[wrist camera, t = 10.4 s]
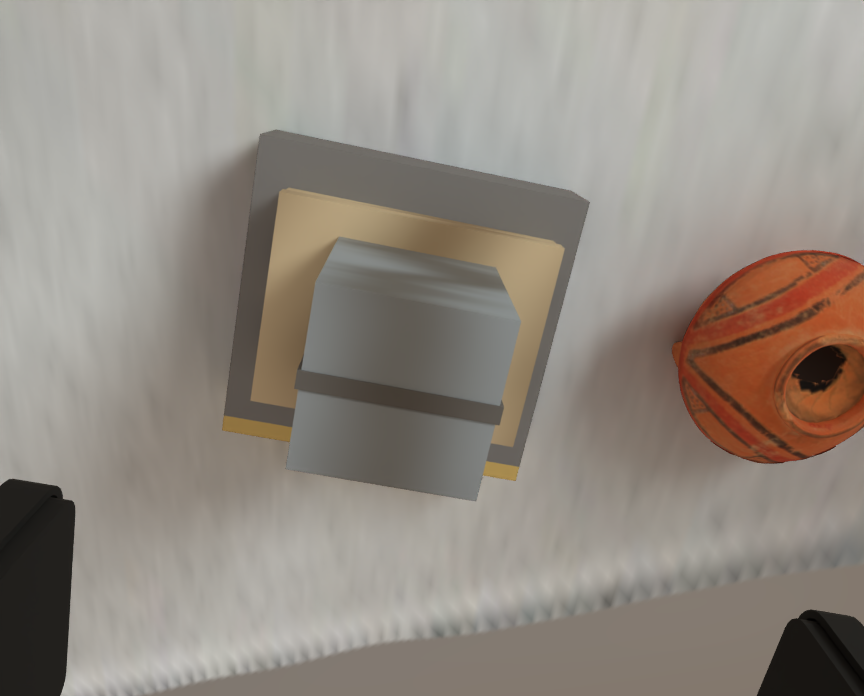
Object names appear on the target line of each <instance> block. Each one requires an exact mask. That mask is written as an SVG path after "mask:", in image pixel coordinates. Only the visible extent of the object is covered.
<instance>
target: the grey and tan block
mask: <svg viewBox="0 0 864 696" xmlns="http://www.w3.org/2000/svg"><path fill="white" fill-rule="evenodd" d="M564 250H565V248H564V247H563V246H562V245H560V244H556V243H555V242H554V241H552V240H547V239H542V238H537V237H532V236H527V235H522V234H518V233H513V232H508V231H503V230H498V229H493V228H488V227H483V226H478V225H473V224H468V223H463V222H458V221H453V220H448V219H443V218H438V217H433V216H428V215H423V214H418V213H413V212H408V211H403V210H398V209H393V208H388V207H383V206H378V205H373V204H368V203H363V202H358V201H353V200H348V199H344V198H339V197H334V196H329V195H324V194H319V193H314V192H309V191H304V190H299V189H294V188H287V189H282V190H281V191H280V192H279V198H278V205H277V213H276V220H275V227H274V234H273V241H272V249H271V256H270V263H269V270H268V277H267V285H266V292H265V299H264V306H263V313H262V321H261V328H260V335H259V342H258V349H257V357H256V364H255V371H254V378H253V385H252V393H251V400H250V401H255V402H260V403H266V404H272V405H277V406H283V407H289V408H294V409H295V413H294V420H293V426H292V432H291V438H290V445H289V451H288V457H287V464H286V469H288V470H294V471H300V472H306V473H312V474H317V475H323V476H329V477H335V478H341V479H347V480H353V481H359V482H365V483H371V484H376V485H382V486H388V487H394V488H400V489H406V490H412V491H418V492H424V493H430V494H435V495H441V496H447V497H453V498H459V499H465V500H471V501H476V500H477V496H478V492H479V488H480V484H481V480H482V476H483V472H484V468H485V464H486V460H487V456H488V452H489V448H490V444H491V443H493V444H498V445H504V446H509V447H513V445H514V442H515V438H516V434H517V430H518V426H519V423H520V419H521V415H522V411H523V407H524V403H525V400H526V396H527V392H528V388H529V384H530V380H531V377H532V373H533V369H534V365H535V361H536V357H537V354H538V350H539V346H540V342H541V338H542V334H543V331H544V327H545V323H546V319H547V315H548V312H549V308H550V304H551V300H552V296H553V292H554V289H555V285H556V281H557V277H558V273H559V269H560V266H561V262H562V258H563V254H564Z"/></svg>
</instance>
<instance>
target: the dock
mask: <svg viewBox="0 0 864 696" xmlns="http://www.w3.org/2000/svg"><path fill="white" fill-rule="evenodd" d="M287 188H294V189H299V190H304V191H309V192H314V193H319V194H324V195H329V196H334V197H339V198H344V199H348V200H353V201H358V202H363V203H368V204H373V205H378V206H383V207H388V208H393V209H398V210H403V211H408V212H413V213H418V214H423V215H428V216H433V217H438V218H443V219H448V220H453V221H458V222H463V223H468V224H473V225H478V226H483V227H488V228H493V229H498V230H503V231H508V232H513V233H518V234H522V235H527V236H532V237H537V238H542V239H547V240H552V241H554V242H555V243H556V244H560V245H562V246H563V247H564V248H565V250H564V254H563V258H562V262H561V266H560V269H559V273H558V277H557V281H556V285H555V289H554V292H553V296H552V300H551V304H550V308H549V312H548V315H547V319H546V323H545V327H544V331H543V334H542V338H541V342H540V346H539V350H538V354H537V357H536V361H535V365H534V369H533V373H532V377H531V380H530V384H529V388H528V392H527V396H526V400H525V403H524V407H523V411H522V415H521V419H520V423H519V426H518V430H517V434H516V438H515V442H514V445H513V447H509V446H504V445H498V444H493V443H491V444H490V448H489V452H488V456H487V460H486V464H485V468H484V472H483V475H484V476H490V477H495V478H501V479H507V480H513V481H516V477H517V473H518V469H519V466H520V462H521V458H522V454H523V451H524V447H525V443H526V439H527V436H528V432H529V428H530V424H531V421H532V417H533V413H534V409H535V406H536V402H537V398H538V394H539V391H540V387H541V383H542V379H543V376H544V372H545V368H546V364H547V361H548V357H549V353H550V349H551V345H552V342H553V338H554V334H555V330H556V327H557V323H558V319H559V315H560V312H561V308H562V304H563V300H564V297H565V293H566V289H567V285H568V282H569V278H570V274H571V270H572V267H573V263H574V259H575V255H576V252H577V248H578V244H579V240H580V237H581V233H582V229H583V225H584V222H585V218H586V214H587V210H588V207H589V203H590V202H589V201H587V200H585V199H584V198H582V197H581V196H579V195H577V194H576V193H574V192H573V191H569V190H564V189H559V188H555V187H550V186H545V185H540V184H535V183H530V182H526V181H521V180H516V179H511V178H506V177H501V176H497V175H492V174H487V173H482V172H477V171H472V170H468V169H463V168H458V167H453V166H448V165H444V164H439V163H434V162H429V161H424V160H419V159H415V158H410V157H405V156H400V155H395V154H390V153H386V152H381V151H376V150H371V149H366V148H361V147H357V146H352V145H347V144H342V143H337V142H333V141H328V140H323V139H318V138H313V137H308V136H304V135H299V134H294V133H289V132H284V131H279V130H273V131H270V132H266V133H262V134H260V138H259V146H258V153H257V161H256V169H255V177H254V185H253V193H252V200H251V208H250V216H249V224H248V232H247V240H246V247H245V255H244V263H243V271H242V279H241V286H240V294H239V302H238V310H237V318H236V326H235V333H234V341H233V349H232V357H231V365H230V372H229V380H228V388H227V396H226V404H225V412H224V419H223V427H222V430H223V431H229V432H235V433H241V434H246V435H252V436H258V437H264V438H269V439H275V440H281V441H287V442H290V438H291V432H292V426H293V420H294V413H295V409H294V408H289V407H283V406H277V405H272V404H266V403H260V402H255V401H250V400H251V393H252V385H253V378H254V371H255V364H256V357H257V349H258V342H259V335H260V328H261V321H262V313H263V306H264V299H265V292H266V285H267V277H268V270H269V263H270V256H271V249H272V241H273V234H274V227H275V220H276V213H277V205H278V198H279V192H280V191H281V190H282V189H287Z"/></svg>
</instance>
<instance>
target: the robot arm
mask: <svg viewBox="0 0 864 696" xmlns="http://www.w3.org/2000/svg"><path fill="white" fill-rule="evenodd" d="M74 527H75V505H74V502H73V501H71V500H65V499H63V495H62V491H61V489H60V488H59V487H58V486H53V485H47V484H41V483H35V482H29V481H23V480H17V479H9V480H7V481H6V482H4V483H3V484H2V485H1V486H0V696H60V695H61V692H62V689H63V686H64V682H65V677H66V666H67V649H68V631H69V614H70V597H71V579H72V562H73V544H74ZM757 696H864V626H863V625H862V624H861V623H860V622H859V621H858V620H857V619H856V618H854V617H851V616H847V615H841V614H835V613H829V612H823V611H817V610H807V611H805V612H803V613H802V614H801V615H800V616H799V618H798V619H797V618H796V619H792V620H791V621H790V622H789V623H788V624H787V626H786V627H785V630H784V632H783V634H782V637H781V639H780V642H779V644H778V646H777V649H776V651H775V653H774V656H773V658H772V661H771V663H770V665H769V668H768V670H767V673H766V675H765V677H764V680H763V682H762V684H761V687H760V689H759V692H758V694H757Z"/></svg>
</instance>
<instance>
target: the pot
mask: <svg viewBox="0 0 864 696" xmlns="http://www.w3.org/2000/svg"><path fill="white" fill-rule="evenodd" d="M672 354H673V358H674V361H675V363H676V365H677V367H678V377H679V384H680V390H681V393H682V397H683V400H684V403H685V405H686V408H687V410H688V412H689V414H690V416H691V418H692V419H693V421H694V422H695V424H696V425H697V427H698V428H699V429H700V430H701V432H702V433H703V434H704V435H705V436H706V437H707V438H708V439H709V440H710V441H711V442H713V443H714V444H715V445H717V446H718V447H720V448H721V449H723V450H725V451H726V452H728V453H730V454H733V455H736V456H738V457H741V458H743V459H746V460H749V461H753V462H757V463H769V464H774V463H784V462H787V461H797V460H803V459H807V458H809V457H811V456H812V457H813V455H814V456H816V455H819V454H822V453H824V452H826V451H829V450H831V449H833V448H834V447H836V445H838V444H840V443H841V442H843V441H845V440H846V439H848V438H849V437H851V436H852V435H854V434H855V433H857V432H858V431H859V430H860V429H862V428H863V427H864V266H863V265H861V264H860V263H858V262H856V261H855V260H853V259H851V258H848V257H846V256H843V255H840V254H836V253H832V252H825V251H816V250H811V251H807V250H801V251H791V252H785V253H780V254H776V255H772V256H769V257H766V258H764V259H761V260H759V261H757V262H755V263H753V264H751V265H749V266H747V267H745V268H743V269H741V270H740V271H738V272H736V273H735V274H733V275H732V276H730V277H729V278H728V279H726V280H725V281H724V282H723V283H722V284H720V285H719V286H718V287H717V288H716V289H715V290H714V291H713V292H712V293H711V294H710V295H709V296H708V297H707V299H706V300H705V301H704V302H703V303H702V305H701V306H700V308H699V309H698V311H697V312H696V314H695V316H694V318H693V319H692V321H691V323H690V324H689V327H688V329H687V331H686V333H685V335H684V338H683V341H682V342H676V343H674V344H673V347H672Z"/></svg>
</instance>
